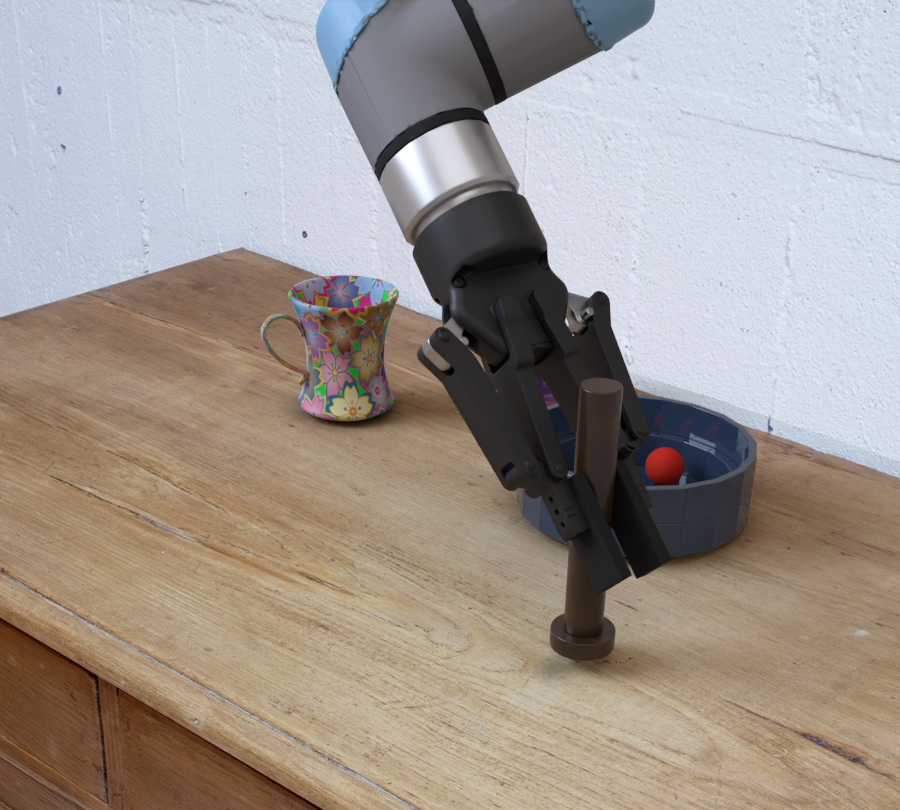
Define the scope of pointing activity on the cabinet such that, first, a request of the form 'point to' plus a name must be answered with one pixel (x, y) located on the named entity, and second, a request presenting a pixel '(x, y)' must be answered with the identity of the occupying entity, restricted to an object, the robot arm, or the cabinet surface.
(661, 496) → the bowl
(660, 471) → the red ball
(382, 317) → the mug
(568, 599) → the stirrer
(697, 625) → the cabinet surface
